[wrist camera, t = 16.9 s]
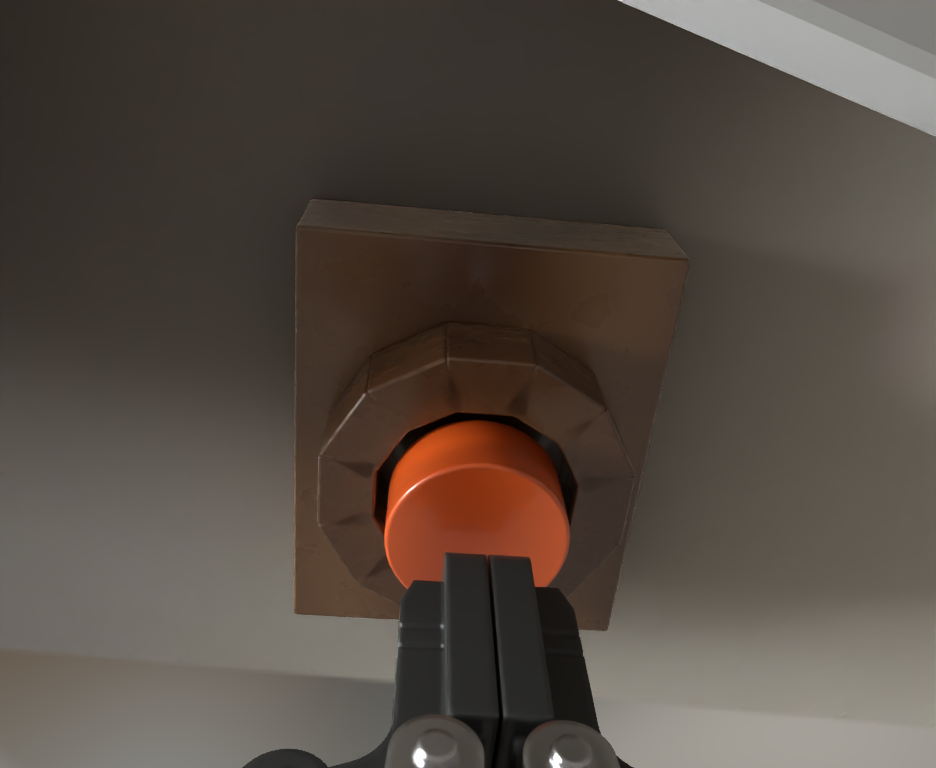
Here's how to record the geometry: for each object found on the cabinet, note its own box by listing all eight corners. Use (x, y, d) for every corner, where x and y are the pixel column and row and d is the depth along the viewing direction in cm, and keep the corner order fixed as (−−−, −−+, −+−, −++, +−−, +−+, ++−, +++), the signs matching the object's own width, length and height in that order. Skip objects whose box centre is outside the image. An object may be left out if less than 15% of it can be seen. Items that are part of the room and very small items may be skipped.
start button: (571, 424, 17) (584, 471, 16) (546, 565, 19) (556, 620, 17) (393, 412, 17) (388, 458, 15) (384, 555, 18) (379, 610, 17)
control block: (666, 228, 19) (719, 291, 16) (594, 576, 24) (621, 686, 20) (310, 197, 19) (279, 254, 15) (305, 559, 23) (280, 669, 19)
